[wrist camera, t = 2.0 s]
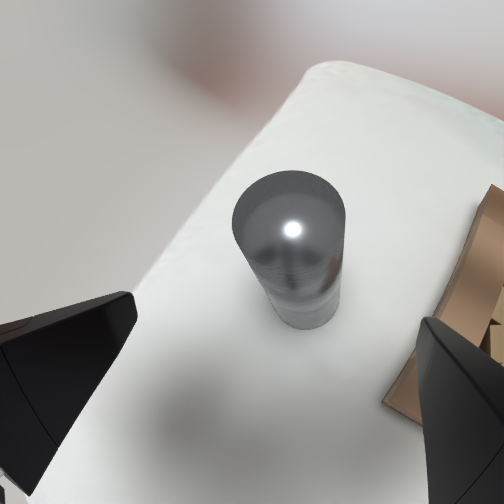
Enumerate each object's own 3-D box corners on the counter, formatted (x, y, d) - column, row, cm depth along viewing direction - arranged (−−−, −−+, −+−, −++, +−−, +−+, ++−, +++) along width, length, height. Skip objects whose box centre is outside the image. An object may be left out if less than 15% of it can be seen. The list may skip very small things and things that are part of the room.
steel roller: (308, 343, 19) (291, 293, 11) (260, 300, 21) (209, 224, 12) (352, 293, 20) (367, 207, 11) (303, 255, 22) (283, 155, 13)
